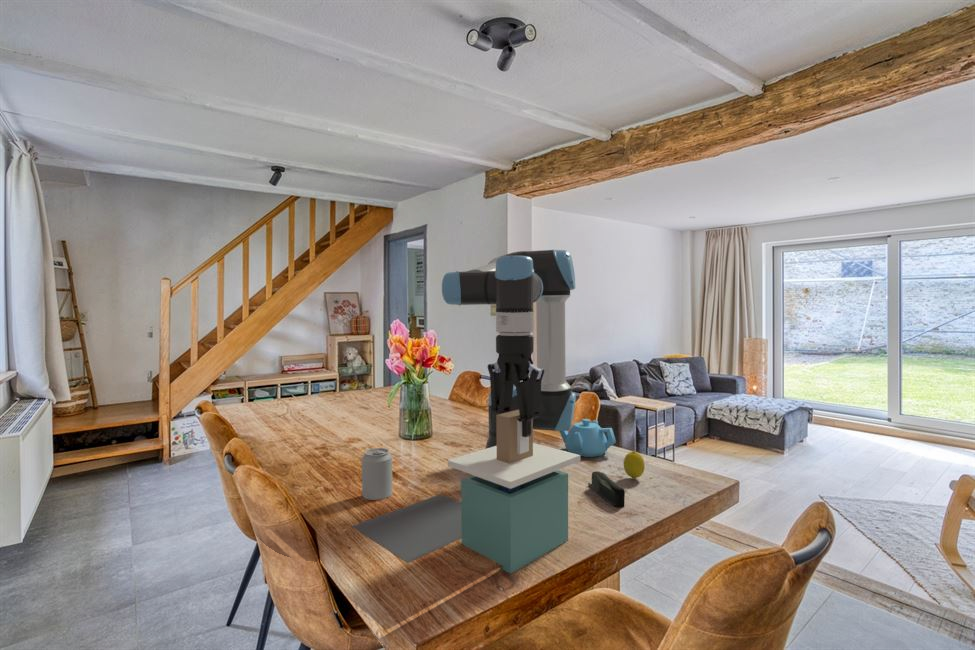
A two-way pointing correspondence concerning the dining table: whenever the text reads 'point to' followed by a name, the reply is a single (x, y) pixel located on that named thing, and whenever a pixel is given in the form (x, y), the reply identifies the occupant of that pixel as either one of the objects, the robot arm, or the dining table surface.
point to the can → (376, 474)
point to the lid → (512, 457)
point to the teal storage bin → (515, 519)
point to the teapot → (588, 439)
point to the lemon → (634, 464)
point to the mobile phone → (608, 489)
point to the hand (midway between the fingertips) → (515, 449)
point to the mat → (416, 527)
